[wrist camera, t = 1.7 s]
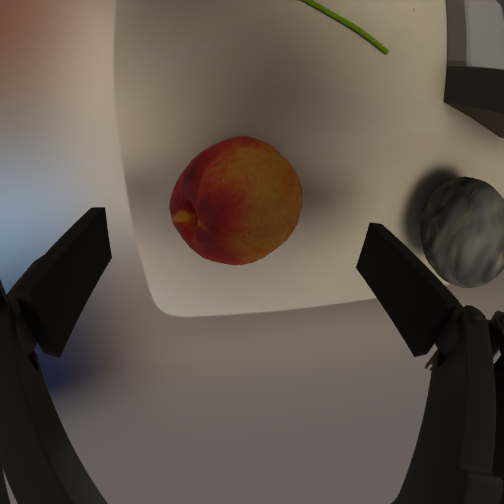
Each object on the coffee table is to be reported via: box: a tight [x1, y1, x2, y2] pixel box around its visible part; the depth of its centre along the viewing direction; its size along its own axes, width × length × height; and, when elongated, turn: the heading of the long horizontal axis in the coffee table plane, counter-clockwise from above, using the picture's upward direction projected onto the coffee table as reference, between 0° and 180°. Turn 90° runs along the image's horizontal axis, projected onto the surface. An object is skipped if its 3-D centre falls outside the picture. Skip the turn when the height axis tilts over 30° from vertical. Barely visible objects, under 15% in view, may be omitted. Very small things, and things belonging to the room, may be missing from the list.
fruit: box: [169, 137, 302, 265], centre depth 17 cm, size 8×8×8 cm
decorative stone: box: [420, 177, 504, 288], centre depth 19 cm, size 10×10×10 cm
